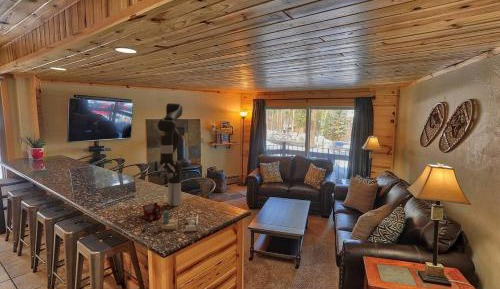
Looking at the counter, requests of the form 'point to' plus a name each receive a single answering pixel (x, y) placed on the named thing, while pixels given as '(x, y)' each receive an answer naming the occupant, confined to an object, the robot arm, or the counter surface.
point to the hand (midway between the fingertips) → (166, 177)
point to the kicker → (168, 221)
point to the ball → (191, 222)
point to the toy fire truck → (152, 211)
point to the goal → (192, 227)
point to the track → (155, 225)
